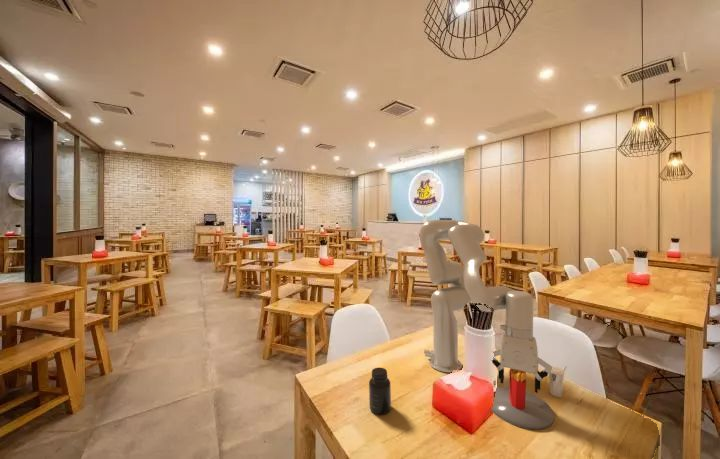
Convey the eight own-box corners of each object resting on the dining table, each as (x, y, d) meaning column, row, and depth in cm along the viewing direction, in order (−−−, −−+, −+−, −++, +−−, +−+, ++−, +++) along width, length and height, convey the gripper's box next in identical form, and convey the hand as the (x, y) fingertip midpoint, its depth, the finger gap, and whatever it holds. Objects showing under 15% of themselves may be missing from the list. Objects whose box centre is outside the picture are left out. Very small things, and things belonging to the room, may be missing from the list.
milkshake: (570, 399, 92) (570, 369, 91) (551, 397, 93) (551, 368, 93) (562, 391, 96) (563, 362, 96) (545, 389, 97) (545, 361, 97)
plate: (483, 414, 85) (483, 409, 85) (491, 385, 100) (491, 381, 100) (555, 438, 75) (555, 433, 75) (552, 402, 90) (552, 398, 90)
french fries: (507, 394, 92) (508, 358, 92) (521, 396, 91) (521, 360, 91) (512, 410, 84) (513, 371, 84) (527, 413, 83) (528, 373, 83)
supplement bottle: (379, 398, 93) (378, 363, 93) (395, 408, 88) (395, 370, 88) (364, 408, 88) (364, 371, 88) (381, 419, 83) (380, 379, 83)
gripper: (486, 329, 89) (486, 383, 89) (553, 342, 79) (552, 401, 80) (490, 322, 95) (490, 372, 95) (552, 333, 86) (551, 388, 86)
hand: (518, 385), depth 87 cm, fingers open, 9 cm apart
